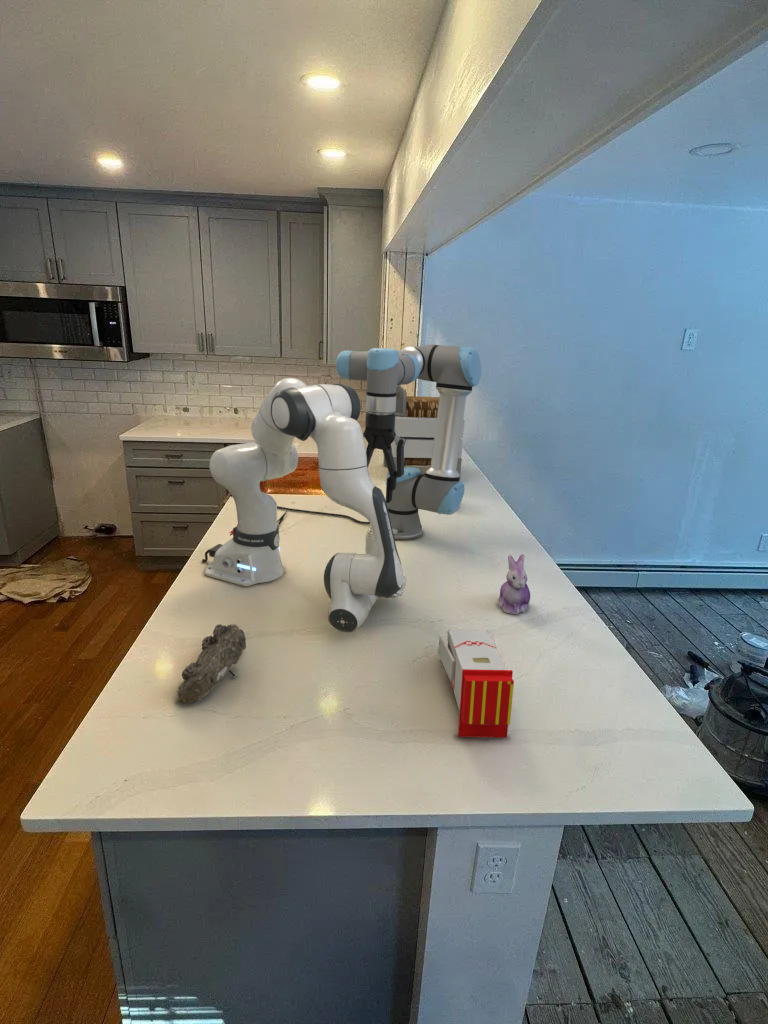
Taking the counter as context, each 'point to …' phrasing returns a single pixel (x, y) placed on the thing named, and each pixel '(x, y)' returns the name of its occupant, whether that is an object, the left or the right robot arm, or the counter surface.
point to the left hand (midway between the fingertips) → (374, 568)
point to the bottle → (370, 543)
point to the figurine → (515, 588)
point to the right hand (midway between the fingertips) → (377, 499)
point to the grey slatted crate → (417, 429)
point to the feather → (281, 518)
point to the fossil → (212, 662)
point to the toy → (478, 682)
